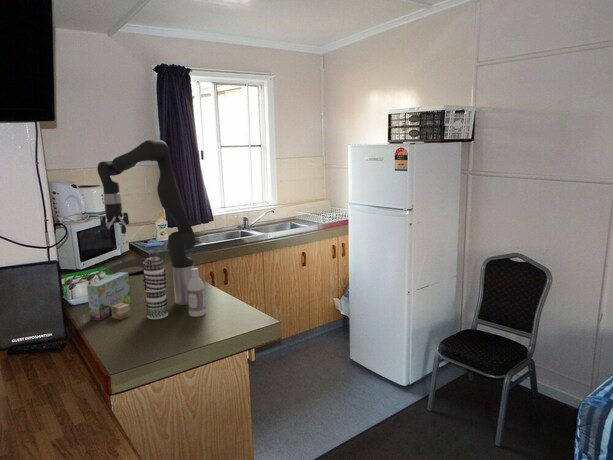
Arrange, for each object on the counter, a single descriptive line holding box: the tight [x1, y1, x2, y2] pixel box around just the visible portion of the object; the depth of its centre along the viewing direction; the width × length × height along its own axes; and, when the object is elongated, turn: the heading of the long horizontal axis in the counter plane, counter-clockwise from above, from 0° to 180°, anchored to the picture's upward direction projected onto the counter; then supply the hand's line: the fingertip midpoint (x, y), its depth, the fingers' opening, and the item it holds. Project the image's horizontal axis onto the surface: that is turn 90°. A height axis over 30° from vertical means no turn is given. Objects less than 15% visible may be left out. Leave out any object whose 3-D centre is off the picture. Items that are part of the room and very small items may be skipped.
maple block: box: [111, 303, 131, 321], centre depth 184 cm, size 5×5×5 cm
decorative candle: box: [142, 256, 169, 320], centre depth 182 cm, size 9×9×25 cm
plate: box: [108, 257, 148, 275], centre depth 258 cm, size 28×28×4 cm
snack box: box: [86, 271, 131, 322], centre depth 189 cm, size 21×6×15 cm, turn 168°
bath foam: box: [187, 267, 207, 317], centre depth 184 cm, size 7×7×20 cm
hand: (116, 235), depth 215 cm, fingers open, 8 cm apart
